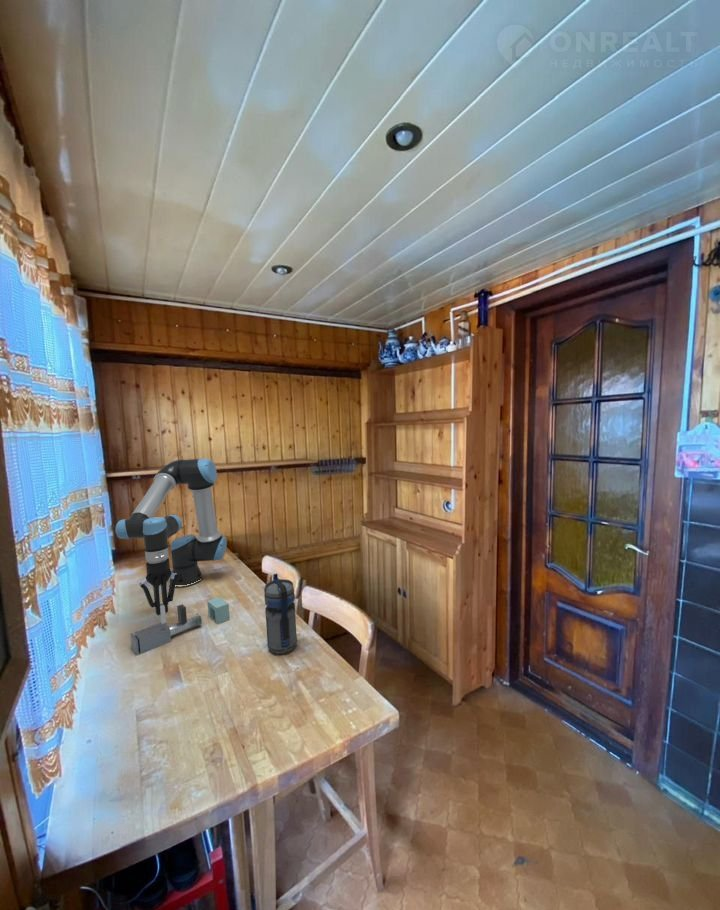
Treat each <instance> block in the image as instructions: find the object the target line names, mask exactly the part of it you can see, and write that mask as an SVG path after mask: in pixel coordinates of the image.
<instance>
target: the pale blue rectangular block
mask: <svg viewBox="0 0 720 910" xmlns="http://www.w3.org/2000/svg"><path fill="white" fill-rule="evenodd" d="M206 602H207V613H208V615H207V616H208V618H209V619H212V618H213V619H214V620H215V622H214V623H215V624H216V625H221V624H223V623H225V622H227V621H230V619H231V618H230V605H229V604H230V603H228V602H227V601H226V600H224V599H223V598H221V596H218V597H215V598H212V599H209V600H207V601H206Z"/></svg>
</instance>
